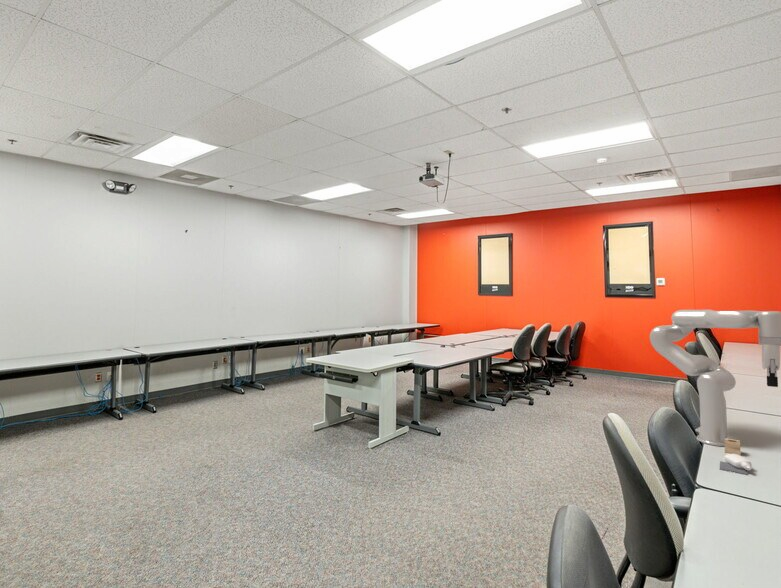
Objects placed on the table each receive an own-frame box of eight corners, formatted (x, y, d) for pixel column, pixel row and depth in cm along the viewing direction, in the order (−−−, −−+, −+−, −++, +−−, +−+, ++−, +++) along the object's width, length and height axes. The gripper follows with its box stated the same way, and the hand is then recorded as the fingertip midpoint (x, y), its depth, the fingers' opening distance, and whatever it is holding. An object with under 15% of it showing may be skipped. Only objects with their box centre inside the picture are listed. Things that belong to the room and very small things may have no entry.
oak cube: (725, 449, 176) (724, 438, 176) (740, 452, 172) (739, 440, 173) (724, 453, 172) (724, 441, 172) (740, 456, 169) (740, 443, 169)
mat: (720, 462, 162) (720, 461, 162) (746, 467, 157) (746, 466, 157) (719, 469, 156) (719, 468, 156) (747, 475, 150) (747, 473, 150)
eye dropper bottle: (737, 466, 161) (756, 477, 150) (722, 459, 163) (739, 470, 151) (742, 456, 161) (761, 467, 150) (726, 449, 163) (744, 459, 151)
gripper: (757, 339, 175) (759, 382, 175) (759, 342, 163) (760, 388, 163) (782, 340, 170) (783, 384, 170) (785, 343, 159) (787, 390, 158)
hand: (772, 386), depth 166 cm, fingers closed
